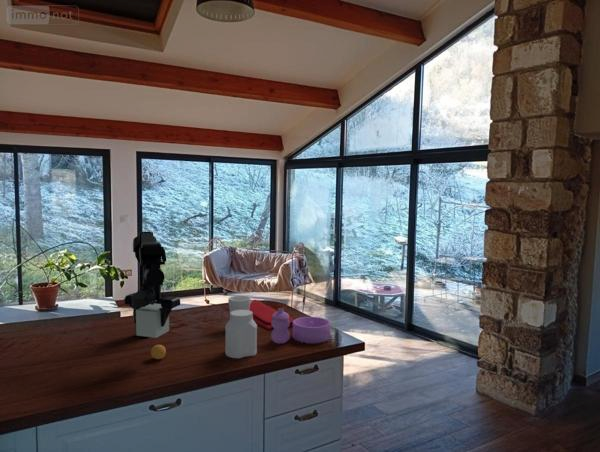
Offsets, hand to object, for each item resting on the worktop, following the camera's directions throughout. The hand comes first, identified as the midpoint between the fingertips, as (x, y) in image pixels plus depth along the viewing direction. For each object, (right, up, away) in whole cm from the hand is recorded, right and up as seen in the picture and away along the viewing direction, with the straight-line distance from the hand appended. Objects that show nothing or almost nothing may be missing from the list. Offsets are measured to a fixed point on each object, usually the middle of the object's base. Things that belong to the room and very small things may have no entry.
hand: (152, 325), depth 155 cm
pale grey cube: (0, -3, 0) cm, 3 cm away
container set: (+51, -12, +28) cm, 59 cm away
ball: (+1, -10, +4) cm, 11 cm away
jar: (+29, -13, +11) cm, 34 cm away
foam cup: (+24, -10, +41) cm, 48 cm away
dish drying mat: (+33, -9, +58) cm, 68 cm away
